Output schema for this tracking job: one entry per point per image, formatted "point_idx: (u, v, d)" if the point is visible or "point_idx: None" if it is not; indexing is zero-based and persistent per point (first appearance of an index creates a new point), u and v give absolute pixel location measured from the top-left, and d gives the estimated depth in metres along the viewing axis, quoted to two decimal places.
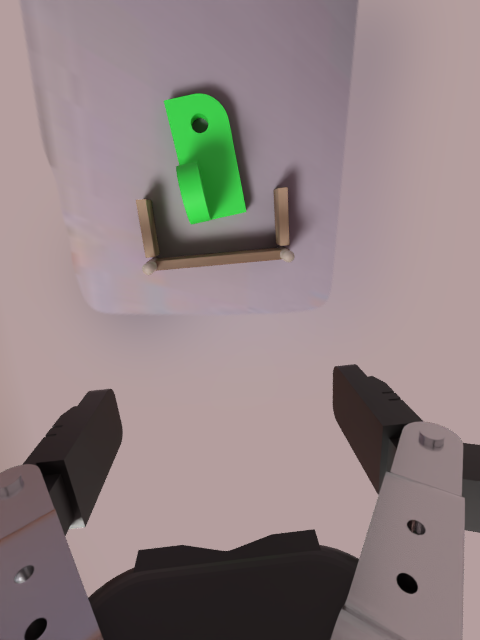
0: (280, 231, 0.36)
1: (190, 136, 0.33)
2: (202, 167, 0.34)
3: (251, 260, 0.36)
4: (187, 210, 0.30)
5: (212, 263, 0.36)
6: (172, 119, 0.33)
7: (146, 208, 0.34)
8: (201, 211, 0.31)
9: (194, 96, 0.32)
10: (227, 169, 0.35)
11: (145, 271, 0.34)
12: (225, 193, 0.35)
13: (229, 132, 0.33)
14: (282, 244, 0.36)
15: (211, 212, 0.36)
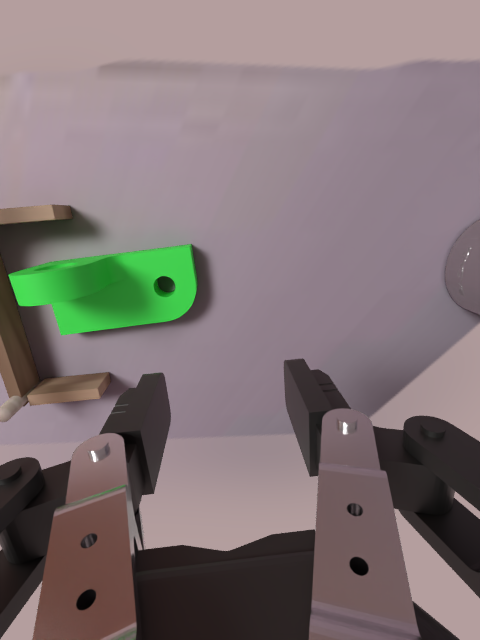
0: (46, 393, 0.28)
1: (149, 274, 0.26)
2: (113, 284, 0.26)
3: None
4: (14, 278, 0.20)
5: None
6: (168, 253, 0.26)
7: (42, 219, 0.24)
8: (18, 296, 0.21)
9: (193, 284, 0.27)
10: (112, 315, 0.27)
11: None
12: (82, 310, 0.27)
13: (154, 321, 0.28)
14: (29, 397, 0.28)
15: None
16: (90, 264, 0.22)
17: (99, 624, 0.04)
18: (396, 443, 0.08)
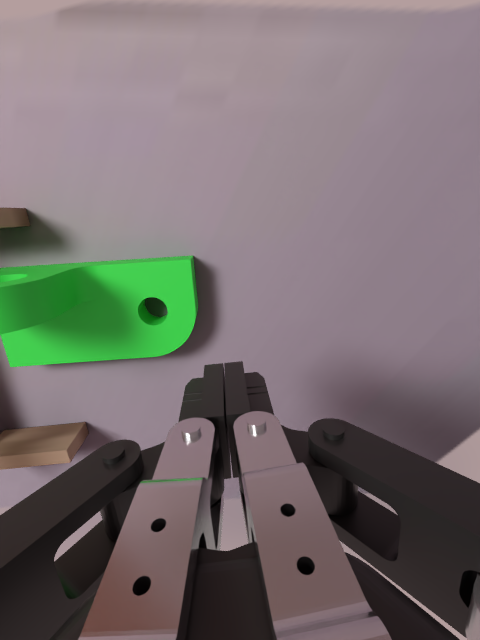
0: None
1: (133, 293, 0.19)
2: (83, 305, 0.19)
3: None
4: None
5: None
6: (160, 268, 0.19)
7: None
8: None
9: (191, 310, 0.20)
10: (80, 345, 0.20)
11: None
12: (39, 336, 0.20)
13: (137, 355, 0.21)
14: None
15: None
16: (42, 280, 0.15)
17: (146, 618, 0.04)
18: (303, 445, 0.08)
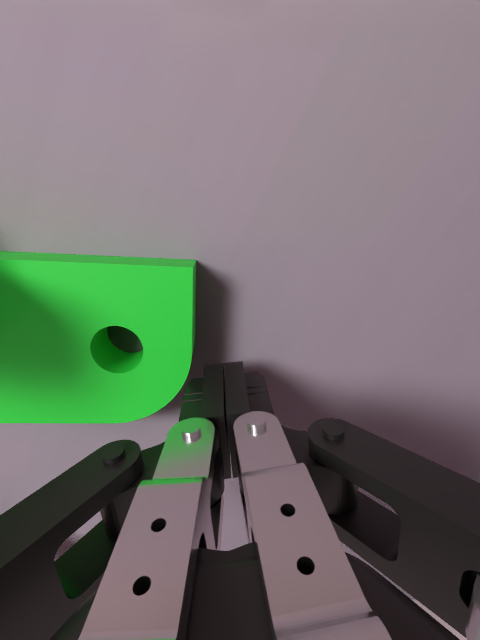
0: None
1: (84, 316, 0.11)
2: None
3: None
4: None
5: None
6: (137, 277, 0.11)
7: None
8: None
9: (185, 353, 0.11)
10: None
11: None
12: None
13: (83, 419, 0.12)
14: None
15: None
16: None
17: (146, 619, 0.04)
18: (303, 445, 0.08)
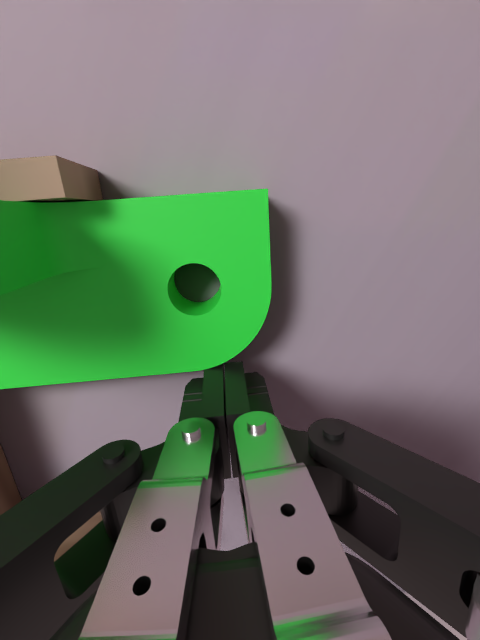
0: None
1: (159, 256, 0.10)
2: (66, 279, 0.10)
3: None
4: None
5: None
6: (211, 206, 0.10)
7: (31, 197, 0.09)
8: None
9: (264, 286, 0.11)
10: (63, 353, 0.11)
11: None
12: None
13: (164, 369, 0.12)
14: None
15: None
16: None
17: (146, 619, 0.04)
18: (303, 445, 0.08)
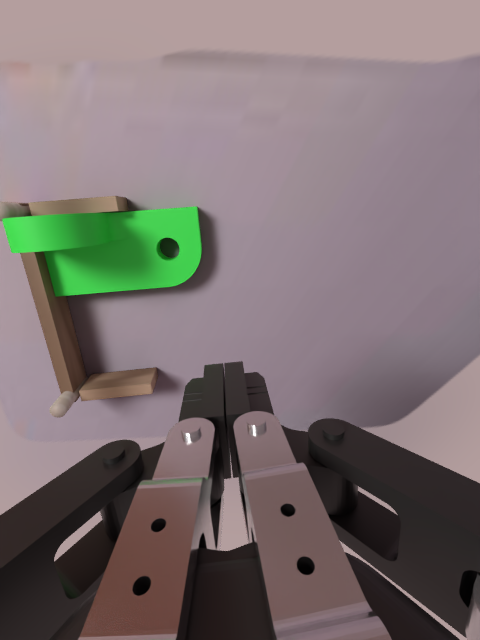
0: (98, 389, 0.28)
1: (153, 234, 0.25)
2: (114, 244, 0.25)
3: (52, 356, 0.26)
4: (9, 220, 0.19)
5: (38, 304, 0.25)
6: (173, 213, 0.25)
7: (105, 210, 0.23)
8: (11, 242, 0.20)
9: (198, 247, 0.26)
10: (111, 277, 0.26)
11: None
12: (79, 271, 0.25)
13: (155, 285, 0.26)
14: (81, 393, 0.27)
15: None
16: (92, 214, 0.21)
17: (146, 619, 0.04)
18: (303, 445, 0.08)
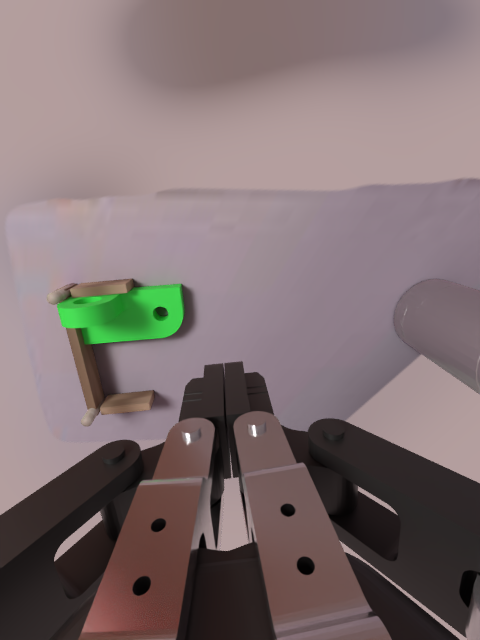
0: (112, 406, 0.40)
1: (150, 304, 0.37)
2: (124, 311, 0.37)
3: (82, 385, 0.39)
4: (62, 309, 0.31)
5: (74, 351, 0.37)
6: (164, 291, 0.37)
7: (118, 292, 0.36)
8: (63, 321, 0.32)
9: (181, 312, 0.38)
10: (122, 332, 0.38)
11: (49, 296, 0.33)
12: (101, 328, 0.38)
13: (152, 337, 0.39)
14: (101, 409, 0.40)
15: None
16: (111, 300, 0.33)
17: (146, 618, 0.04)
18: (303, 445, 0.08)
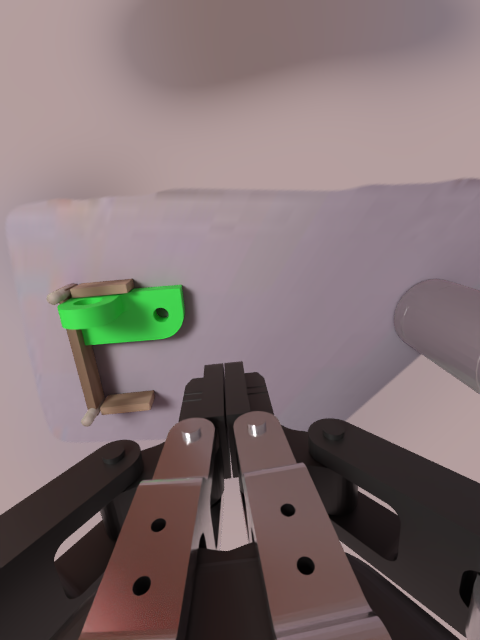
0: (113, 406, 0.40)
1: (150, 305, 0.37)
2: (124, 312, 0.37)
3: (82, 385, 0.39)
4: (63, 311, 0.31)
5: (74, 351, 0.37)
6: (164, 292, 0.37)
7: (119, 292, 0.36)
8: (63, 322, 0.32)
9: (181, 314, 0.38)
10: (122, 333, 0.38)
11: (50, 296, 0.33)
12: (101, 329, 0.38)
13: (152, 338, 0.39)
14: (101, 409, 0.40)
15: None
16: (111, 302, 0.33)
17: (146, 619, 0.04)
18: (303, 445, 0.08)
